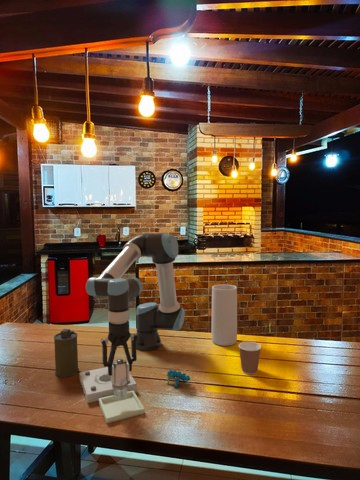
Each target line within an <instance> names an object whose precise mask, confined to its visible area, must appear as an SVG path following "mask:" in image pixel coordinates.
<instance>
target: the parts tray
mask: <svg viewBox="0 0 360 480" xmlns="http://www.w3.org/2000/svg"><path fill="white" fill-rule="evenodd" d="M98 404H99V408H100V410H101V413H102V416H103V418H104V421H105V423H106V425H107V424H112V423H115V422H119V421H123V420H125V419H129V418H133V417H138V416H141V415H144V414H145V406H144V405H143V403H142V402H141V401H140V399H139V397H138V396H137V394H136V392H134V391H129V392H127V397H126V398H124V399H115V398H114V395H112V396H107V397H103V398H99V401H98Z"/></svg>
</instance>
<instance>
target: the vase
mask: <svg viewBox="0 0 360 480" xmlns="http://www.w3.org/2000/svg"><path fill="white" fill-rule="evenodd" d="M210 333H211V334H210V335H211V342H212V343H213V344H215V345H217V346H221V347H227V346H234V345H235V344H236V343H237V340H238V287H237V285H234V284H224V283H223V284H215V285H212V286H211V332H210Z"/></svg>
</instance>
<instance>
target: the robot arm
mask: <svg viewBox="0 0 360 480" xmlns="http://www.w3.org/2000/svg"><path fill="white" fill-rule="evenodd" d="M178 255H179V243H178V240H177V238H176V236H175V235H173V234H168V233H141V234H139V235H137V236H134V237H133V238H131V239H129V241H127V242H126V243H125V244H124V246H123V247H122V251H121V252H120V253H119V254H118V255H117V256H116V257H115V258H114V259H113V260H112V261H111V262H110V264H108V266H107V267H106V268H105V269H104V270H103V271H102V272H101V274H99V276H97V277H96V276H95V277H89V278H88V279H87V281H86V283H85V290H86V291H85V292H86V293H87V295H89V296H93V297H100V298H101V297H102V298H107V302H108V303H107V305H108V308H107V311H108V313H107V314H108V315H107V316H108V335H107V337H105V338H101V339H100V343H101V347H102V365H103V368H105V367H108V374H109V376H111V383H112V384H113V385H114V384H115V378H114V366H113V362H114V361H115V356H116V352H117V349H118V347H121V346H122V347H123V351H124V354H125V357H126V362H127V381H130V377H129V373H130V372H132V370H133V368H132V367H133V363H134V362H136V361H137V360H138V359H137V350H139V351H153V350H156V349H159V348H160V347H161V346H162V339H161V337H160V334H159V331H158V330H159V329H160V330H171V331H179V330H181V329H182V328H183V325H184V321H185V314H186V313H185V312H186V311H185V309H184V308H183V307H181V303H180V302H178V300H177V299H178V298H177V293H176V292H177V289H176V280H175V270H174V262H175V261H176V258H177V257H178ZM145 257H147V258H151V261H152V263H153V264H155V266H156V267H155V268H156V277H157V284H158V291H159V300H160V304H159V305H158V303H157V302H151V301H150V302H144V303H142V304H141V303H140V304H139V305H138V306H136V310H135V311H136V313H135V315H136V318H135V319H136V320H135V321H136V323H135V324H136V333H131V332H130V307H129V303H130V300H133V299H134V298H137V297H138V296H139V295H141V293H142V292H143V288H144V287H143V285H144V284H143V282H142V281H141V280H140V279H139V278H137V277H130V278H128V279H126V278H122V277H123V276H124V274H125V273H127V271H128V270H129V269H130V267H131V266H132V265H133V264H134V262H135V261H138V260H139V259H140V258H145ZM129 339H130V340H131V341H130V342H131V343H130V344H131V345H130V346H131V353H130V351H129V350H130V349H129V346H128V343H127V342H128V341H129ZM109 342H110V343H111V345H110V351H109V356H108V344H109Z"/></svg>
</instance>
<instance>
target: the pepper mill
mask: <svg viewBox="0 0 360 480" xmlns="http://www.w3.org/2000/svg"><path fill="white" fill-rule="evenodd" d="M127 362H128V361H127V360H125V359H123V358H119V359H116V360H113V366H114V378H115V384H114V385H113V384H112V388H113V389H114V398H115V399H124V398H126V397H127V387H128V382H127Z"/></svg>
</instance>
